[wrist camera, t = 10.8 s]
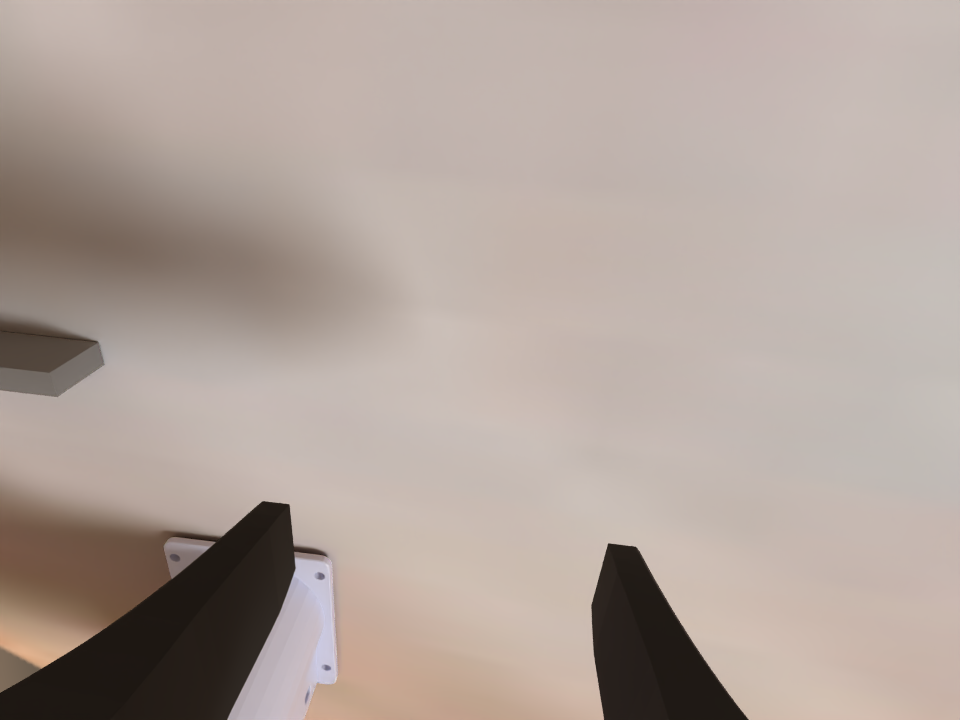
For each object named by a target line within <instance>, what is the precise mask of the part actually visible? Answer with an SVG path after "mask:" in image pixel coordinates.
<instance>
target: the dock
mask: <svg viewBox="0 0 960 720" xmlns="http://www.w3.org/2000/svg"><path fill="white" fill-rule="evenodd" d="M103 365H104V362H103V358H102V354H101V350H100V347H99V343H98V342H91V341H82V340H73V339H64V338H56V337H47V336H38V335H30V334H21V333H12V332H3V331H0V390H3V391H11V392H20V393H28V394H37V395H45V396H54V397H58V396H59V395H61V394H62V393H64V392H65V391H67V390H68V389H69V388H71V387H72V386H74V385H75V384H77V383H78V382H80V381H81V380H83V379H84V378H86V377H87V376H88V375H90V374H91V373H93V372H94V371H96V370H97V369H99V368H100V367H102V366H103Z"/></svg>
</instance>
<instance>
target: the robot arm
mask: <svg viewBox="0 0 960 720" xmlns="http://www.w3.org/2000/svg"><path fill="white" fill-rule="evenodd" d="M164 552H165V556H166V560H167V564H168V568H169V572H170V576H171V580H170V581H169V582H167V583H166V584H165V585H163V586H162V587H161V588H160V589H158V590H157V591H156V592H154V593H153V594H152V595H151V596H149V597H148V598H147V599H145V600H144V601H143V602H141V603H140V604H139V605H137V606H136V607H135V608H133V609H132V610H131V611H129V612H128V613H126V614H125V615H124V616H122V617H121V618H120V619H118V620H117V621H115V622H114V623H112V624H111V625H110V626H108V627H107V628H105V629H104V630H102V631H101V632H99V633H98V634H96V635H95V636H93V637H92V638H90V639H89V640H87V641H86V642H84V643H83V644H81V645H80V646H78V647H76V648H75V649H73V650H72V651H70V652H68V653H67V654H65V655H64V656H62V657H60V658H59V659H57V660H55V661H54V662H52V663H50V664H49V665H47V666H45V667H44V668H42V669H40V670H39V671H37V672H35V673H34V674H32V675H31V676H29V677H27V678H26V679H24V680H22V681H20V682H19V683H17V684H15V685H13V686H12V687H10V688H8V689H6V690H4V691H3V692H1V693H0V720H304V718H305V716H306V713H307V710H308V707H309V704H310V701H311V698H312V695H313V693H314V690H315V687H316V684H317V683H322V684H333V683H335V682H336V679H337V676H338V665H337V647H336V629H335V611H334V593H333V575H332V563H331V561H330V559H329V558H327V557H326V556H323V555H316V554H308V553H300V552H294V545H293V535H292V525H291V515H290V505H289V504H282V503H273V502H265V501H263V502H261V503H260V504H259V505H258V506H256V507H255V508H254V509H253V510H252V511H251V512H250V513H248V514H247V515H246V516H245V517H244V518H243V519H242V520H241V521H239V522H238V523H237V524H236V525H235V526H234V527H233V528H232V529H230V530H229V531H228V532H227V533H226V534H225V535H224V536H222V537H221V538H220V539H219V540H218V541H217V542H212V541H204V540H196V539H188V538H180V537H171V538H169V539H168V540H167V541H166V543H165V544H164ZM320 572H321V573H320ZM592 629H593V647H594V657H595V664H596V671H597V677H598V683H599V690H600V696H601V702H602V708H603V714H604V720H748V718H747V717H746V716H745V715H744V713H743V712H742V711H741V710H740V708H739V707H738V706H737V704H736V703H735V702H734V700H733V699H732V698H731V696H730V695H729V694H728V692H727V691H726V690H725V688H724V687H723V685H722V684H721V683H720V681H719V680H718V678H717V677H716V676H715V674H714V673H713V671H712V670H711V668H710V667H709V666H708V664H707V663H706V661H705V660H704V658H703V657H702V655H701V654H700V652H699V651H698V649H697V648H696V646H695V645H694V643H693V642H692V640H691V639H690V637H689V635H688V634H687V632H686V631H685V629H684V628H683V626H682V624H681V623H680V621H679V620H678V618H677V617H676V615H675V613H674V612H673V610H672V608H671V607H670V605H669V603H668V602H667V600H666V598H665V596H664V595H663V593H662V591H661V590H660V588H659V586H658V584H657V583H656V581H655V579H654V577H653V575H652V574H651V572H650V570H649V568H648V566H647V564H646V563H645V561H644V559H643V557H642V555H641V553H640V551H639V550H638V549H637V548H636V547H633V546H625V545H617V544H609V543H608V546H607V550H606V554H605V557H604V561H603V565H602V568H601V572H600V576H599V580H598V583H597V587H596V591H595V594H594V598H593V602H592Z"/></svg>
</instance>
